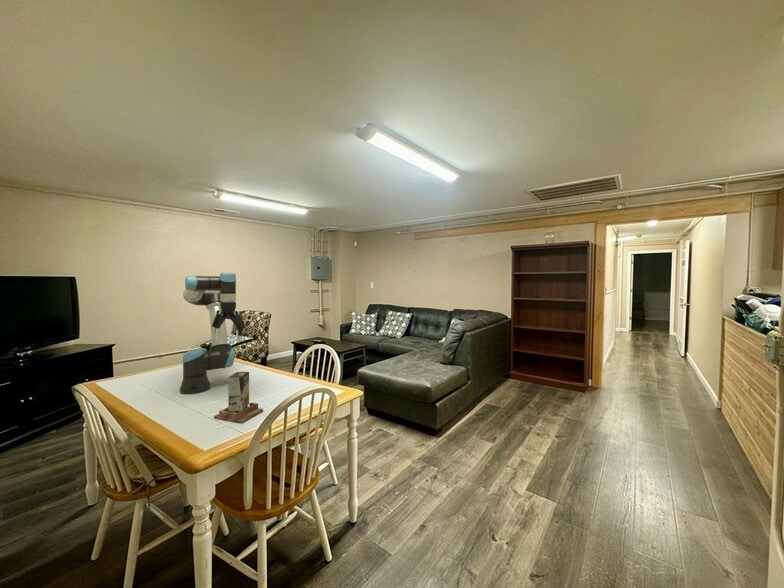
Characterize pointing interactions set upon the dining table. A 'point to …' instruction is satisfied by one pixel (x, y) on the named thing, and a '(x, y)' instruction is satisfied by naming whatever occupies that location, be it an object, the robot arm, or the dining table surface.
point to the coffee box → (238, 391)
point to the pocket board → (239, 414)
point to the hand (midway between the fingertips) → (228, 341)
